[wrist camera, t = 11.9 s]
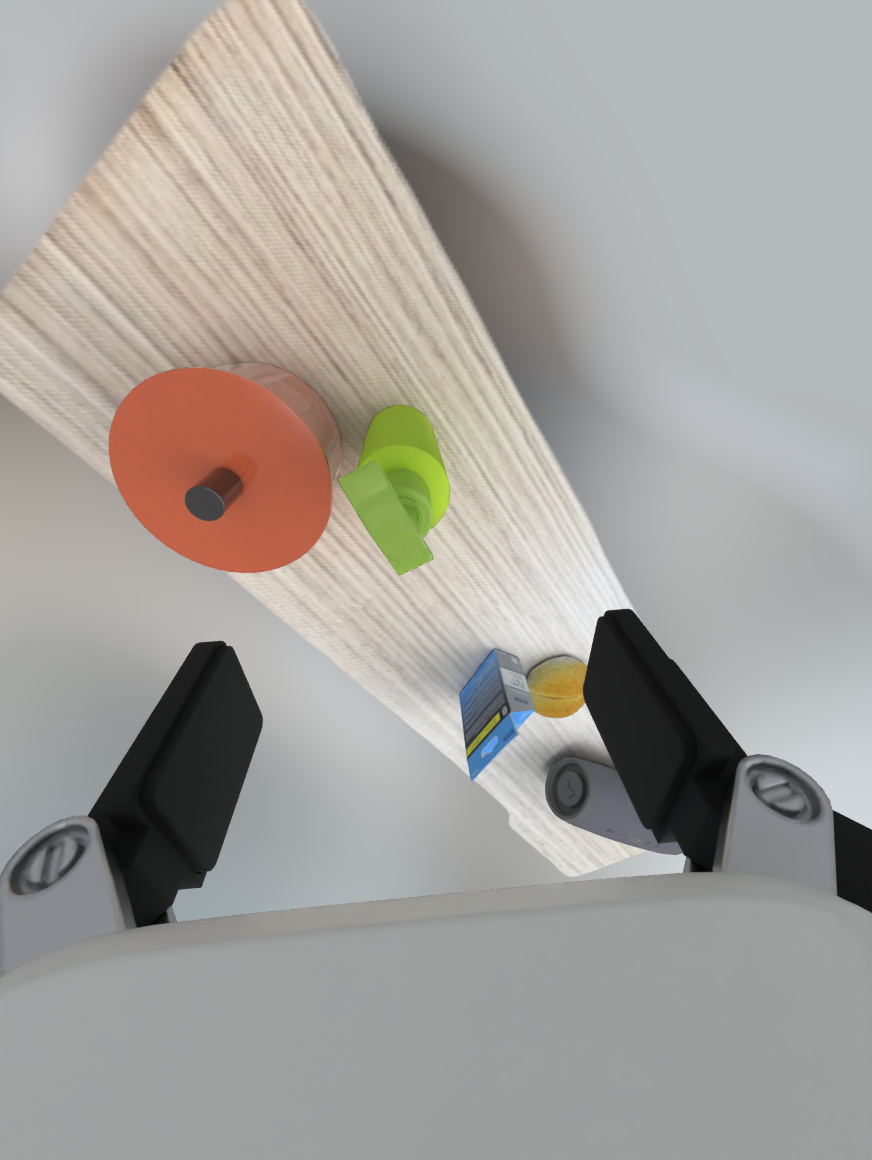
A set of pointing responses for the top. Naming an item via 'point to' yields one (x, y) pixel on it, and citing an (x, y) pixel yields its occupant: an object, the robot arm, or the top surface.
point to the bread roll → (557, 686)
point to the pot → (298, 405)
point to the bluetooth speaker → (599, 804)
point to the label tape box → (493, 709)
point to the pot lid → (221, 469)
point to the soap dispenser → (399, 485)
